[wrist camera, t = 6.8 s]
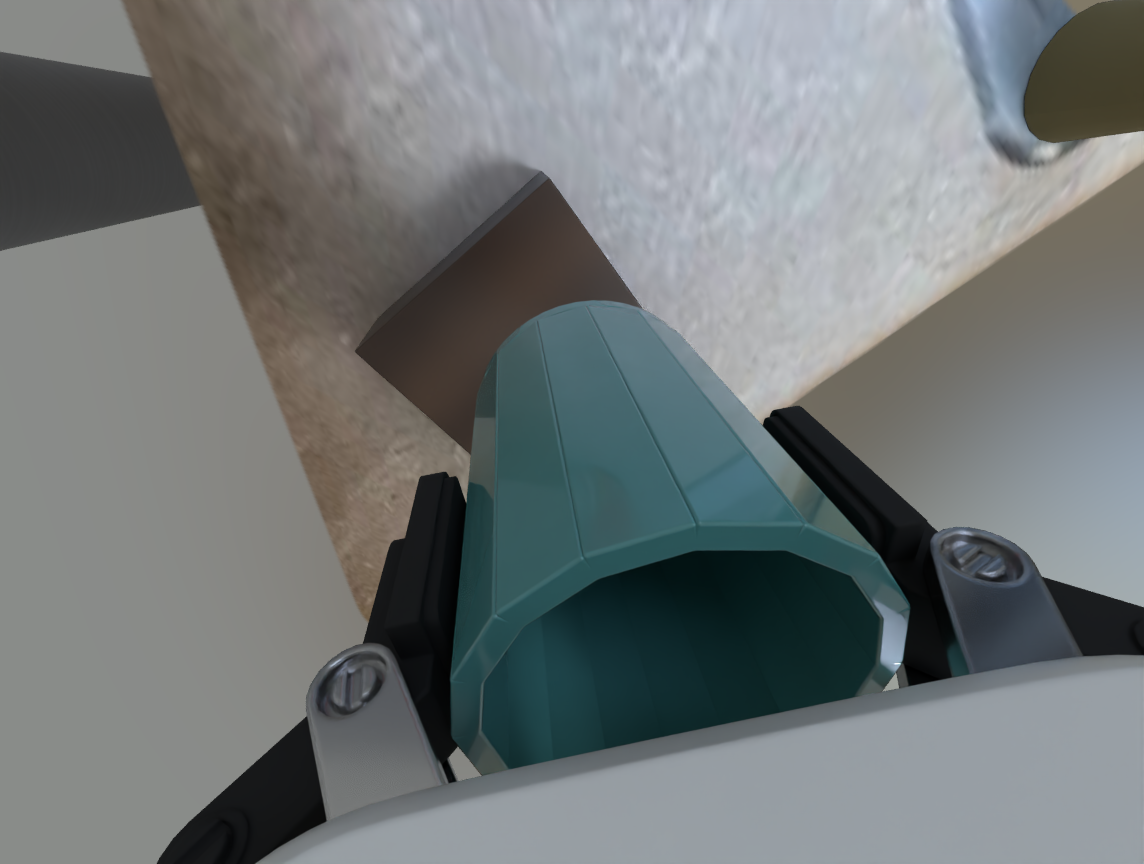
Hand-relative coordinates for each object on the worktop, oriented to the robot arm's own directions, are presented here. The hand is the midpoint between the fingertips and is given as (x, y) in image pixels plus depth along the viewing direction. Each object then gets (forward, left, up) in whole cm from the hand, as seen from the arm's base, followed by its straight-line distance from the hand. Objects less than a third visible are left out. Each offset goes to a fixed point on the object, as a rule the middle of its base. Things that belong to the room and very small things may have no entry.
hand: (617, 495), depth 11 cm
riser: (+1, -3, -20) cm, 20 cm away
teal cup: (0, 0, -4) cm, 4 cm away
